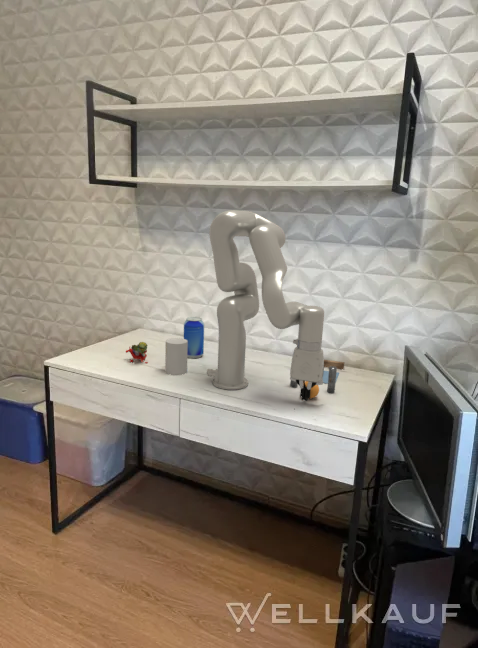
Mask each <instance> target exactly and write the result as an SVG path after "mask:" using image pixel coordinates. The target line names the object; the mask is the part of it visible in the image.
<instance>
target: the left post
mask: <svg viewBox="0 0 478 648" xmlns="http://www.w3.org/2000/svg"><path fill="white" fill-rule="evenodd" d="M289 386H290V387H291V388H294V389H296V388H298V386H299V385H298V384H297V382H295V381H292V380H290V384H289Z"/></svg>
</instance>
